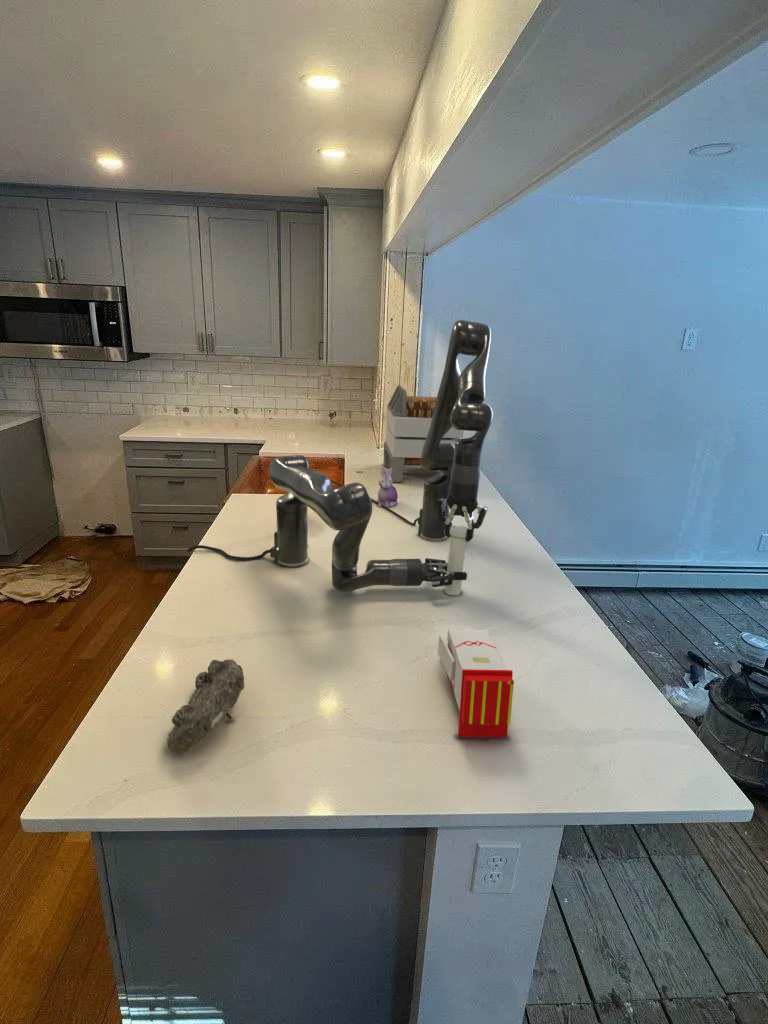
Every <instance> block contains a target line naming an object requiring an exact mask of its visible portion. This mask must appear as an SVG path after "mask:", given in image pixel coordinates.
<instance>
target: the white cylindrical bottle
mask: <svg viewBox="0 0 768 1024" xmlns="http://www.w3.org/2000/svg"><path fill="white" fill-rule="evenodd" d="M466 547H467V542H466V537H455V536H452V535H451V536H450V537H449V548H448V559H447V563H448V566H447V571H448V572H464V565H465V558H466V557H465V556H466V549H467V548H466ZM445 582H448V581H445ZM462 583H463V580H453V582H452V585H446V586H444V587H445V588H444V593H446V594H447V595H449V596H459V595H460V594H461V591H462Z"/></svg>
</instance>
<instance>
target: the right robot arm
mask: <svg viewBox="0 0 768 1024" xmlns="http://www.w3.org/2000/svg"><path fill="white" fill-rule="evenodd" d="M491 339H492V332H491V327H490V326H489V325H488V324H486V323H482V322H476V321H471V320H467V319H466V320H465V319H457V320H456V321H455V322H454V324H453V326H452V329H451V333H450V337H449V341H448V347H447V353H446V358H445V362H444V363H445V364H444V369H443V373H442V377H441V381H440V384H439V387H438V391H437V395H436V397H437V399H436V403H435V408H434V413H433V417H432V421H431V425H430V428H429V431H428V434H427V437H426V440H425V442H424V445H423V448H422V453H421V465H422V466H421V467H422V469H423V470H424V471H427V472H437V473H435V475H433V476H431V477H428V478H427V479H425V480H424V482H423V493H422V496H423V497H422V506H421V508H420V509H419V516H418V517H417V518H415V519H414V520H413V522H411V521H409V520H408V519H406V518H405V517H403V516H402V515H400V514H399V513H397V512H396V511H394V510H392V509H391V508H389V507H386V506H384V505H381V506H380V508H381V507H382V508H383V509H385V510H387V511H388V512H390V513H391V514H393V515H394V516H395V517H398V518H399V519H401V520H403V521H404V522H405V523H407V524H408V525H411V526H416V525H418V530H417V535H418V536H420V538H421V539H424V540H426V541H432V542H440V541H444V540H446V539H448V538H449V539H450V538H451V534H450V533H449V532H450V527H451V526H453V520H454V518H455V516H457V517H459V516H460V517H462V518H464V520H465V523H466V525H467V526H466V527H467V528H468V529H467V535H466V543H469V542H471V541H472V540H473V538H474V532H475V530H478V529H479V528H481V526H482V525H483V522H484V519H485V517H486V514H487V512H488V506H482V505H480V504H479V502H478V494H479V493H478V492H479V483H480V476H481V459H482V451H483V447H484V442H485V439H486V437H487V435H488V432H489V430H490V427H491V426H492V422H493V418H494V411H493V409H492V407H491V406H490V405H489V404H487V403H483V402H484V401H485V399H486V373H487V368H488V367H487V366H488V362H489V361H488V360H489V354H490V347H491ZM459 355H465V356H470V357H475V358H474V359H473V360H472V361H471V362H469V363H468V364H467V365H466V366H465V367H464V368H463V370H462V371H461V370H460V366H459V360H458V359H459ZM452 427H454V428H455V429H457V430H464V431H466V432H467V431H468V432H475V433H474V435H472V436H471V437H465V438H460V439H459V440H457V441H456V443H455V447H454V446H453V445H452V444H450V443H440V442H441V440H442V438H443V437H444V435H445V434H446V433H447V432H448V431H449V430H450V429H451V428H452ZM330 481H331V482H332V484H335V485H337V486H339V487H342V486H345V485H343V484H341V483H339V482H338V481H337V482H336V481H334V480H333V479H330ZM371 501H372V503H374V504H376V505H378V504H379V503H378V502H377V501H378V500H377V501H376V500H375V499H373V498H371ZM475 510H477V514H478V516H477V519H476V521H475V516H474V513H473V512H474V511H475Z"/></svg>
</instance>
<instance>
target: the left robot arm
mask: <svg viewBox="0 0 768 1024" xmlns="http://www.w3.org/2000/svg"><path fill="white" fill-rule="evenodd" d="M268 474H269V478H270V480H271V483H272V484H273V485H274V486H275V488H277V489H279V490H282V491H284V492H286V493H285V494H283V495H282V496H279V497H278V498H277V499H276V502H275V508H276V509H275V510H276V511H275V513H276V531H275V532H274V533H273V542H274V543H273V546H272V547H271V548H269V549H266V550H264V551H263V552H262V553H261V554H259V555H255V556H236V555H231V554H228V553H227V552H226V551H224V550H223V549H221V548H217V547H212V546H208V545H201V544H198V545H197V544H196V545H193V546H191V547H189V548H188V549H187V550H186V552H187V553H190V552H192V551H193V550H197V549H203V550H209V551H212V552H217V553H219V554H221V555H223V557H226V558H227V559H229V560H230V559H231V560H236V561H252V560H259V559H262V558H264V557H265V556H266V555H267V554H270V555H269V556H270V558H273V559H274V562H275V563H277V564H279V565H280V566H282V567H286V568H287V567H288V568H296V567H300V566H304V565H306V564H307V563H308V562H309V552H308V550H309V543H308V541H309V538H308V537H309V536H308V535H309V534H308V532H309V531H308V530H309V529H308V528H309V527H308V521H309V520H308V508H310V509H311V510H312V511H313V512H314V513H316V514H317V516H318V517H319V518H320V519H321V520H322V522H324V523H325V524H326V525H327V526H328V527H329V528H331V530H333V531H338V532H337V534H336V535H335V537H334V539H333V541H332V547H331V586H332V588H333V589H334V590H335V591H337V592H340V593H349V592H350V593H351V592H353V591H357V590H360V589H365V588H368V587H373V586H392V587H420V586H422V584H423V582H427V583H431V587H432V588H439V587H445V586H446V585H452V582H453V580H462V581H466V580H467V578H468V573H467V572H466V571H463V572H448V571H447V566H448V562H447V561H446V560H444V559H438V558H429V557H428V558H427V557H426V558H424V562H422V559H420V558H392V559H370V560H368V561H367V562H366V566H365V569H364V572H363V573H360V574H358V563H359V559H360V558H359V557H360V549H361V543H362V540H363V537H364V535H365V532H366V530H367V527H368V525H369V523H370V520H371V517H372V514H373V502H372V501H371V499H372V498H371V495H370V493H369V491H368V489H367V488H366V487H365V486H364V484H362V483H360V482H351V483H347V484H345V485H344V486H342V487H341V486H339V487H337V488H335V489H334V486H333V483H332V482H331V481H330V480H331V479H330V478H329V476H327V475H326V474H325V473H323V472H321V471H320V470H317V469H315V468H311V467H310V465H309V461H308V459H307V457H305V456H304V455H301V454H297V455H295V454H294V455H283V456H277V457H274V458H272V460H271V461H270V463H269V467H268ZM446 581H448V582H446Z"/></svg>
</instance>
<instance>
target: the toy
mask: <svg viewBox="0 0 768 1024" xmlns="http://www.w3.org/2000/svg"><path fill="white" fill-rule="evenodd" d="M446 640H447V643H446V641H445V639H444V636H443V635H442V634H439V637H438V646H437V656H438V657H439V659H440V661H441V663H442V666H443V668H444V670H445V672H446V674H447V677H448V679H449V681H450V684H451V687H452V690H453V693H454V697H455V701H456V705H457V708H458V711H459V714H458V715H459V716H458V730H457V731H458V732H457V737H458V738H508V731H509V726H510V725H511V717H512V707H513V697H514V696H513V695H514V684H515V680H514V679H513V673H514V671H513V670H512V669H508V667H507V665H506V662H505V661H504V659H503V658H502V655H501V653H500V651H499V649H498V647H497V643H496V639H495V637H494V635H493V634H491V632H490V631H489V629H467V628H466V629H465V628H463V629H461V628H460V629H459V628H448V630H447V639H446Z"/></svg>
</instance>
